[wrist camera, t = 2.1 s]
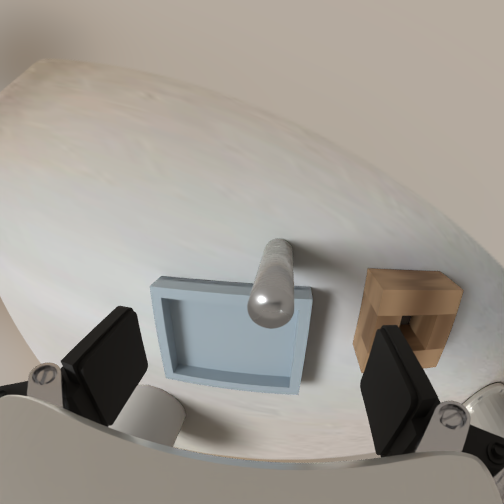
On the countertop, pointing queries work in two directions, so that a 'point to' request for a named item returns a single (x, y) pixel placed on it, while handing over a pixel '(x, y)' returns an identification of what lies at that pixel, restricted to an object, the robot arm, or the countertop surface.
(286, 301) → the pin
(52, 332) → the countertop surface
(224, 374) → the tray
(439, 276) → the bore block
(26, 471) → the robot arm
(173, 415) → the cup
